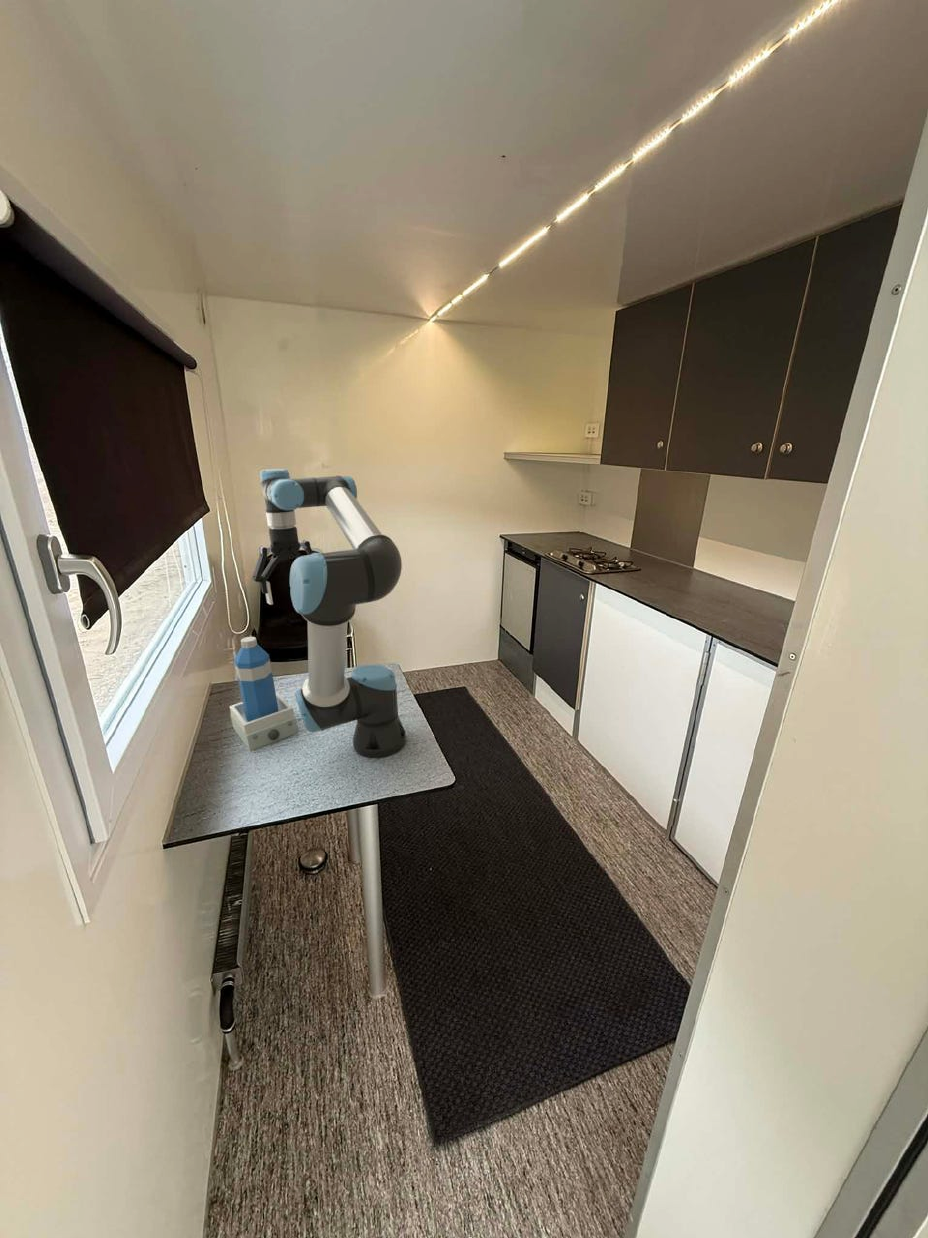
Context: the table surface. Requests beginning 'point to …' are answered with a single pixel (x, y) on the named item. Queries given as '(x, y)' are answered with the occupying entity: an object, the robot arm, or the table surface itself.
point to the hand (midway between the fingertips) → (293, 598)
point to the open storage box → (264, 725)
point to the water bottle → (255, 680)
